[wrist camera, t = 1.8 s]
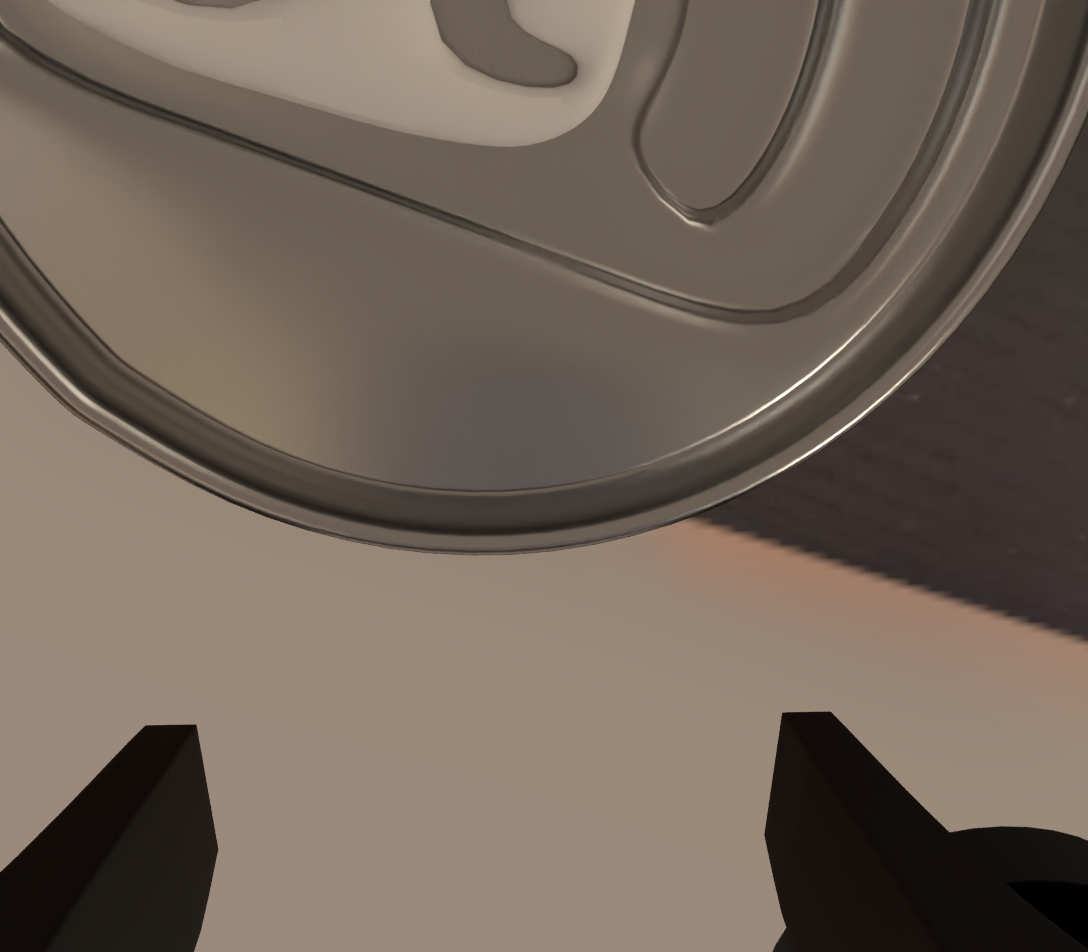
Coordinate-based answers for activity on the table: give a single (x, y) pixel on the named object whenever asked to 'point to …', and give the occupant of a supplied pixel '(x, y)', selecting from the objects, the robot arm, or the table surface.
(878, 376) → the beverage can
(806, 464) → the table surface
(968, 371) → the table surface
